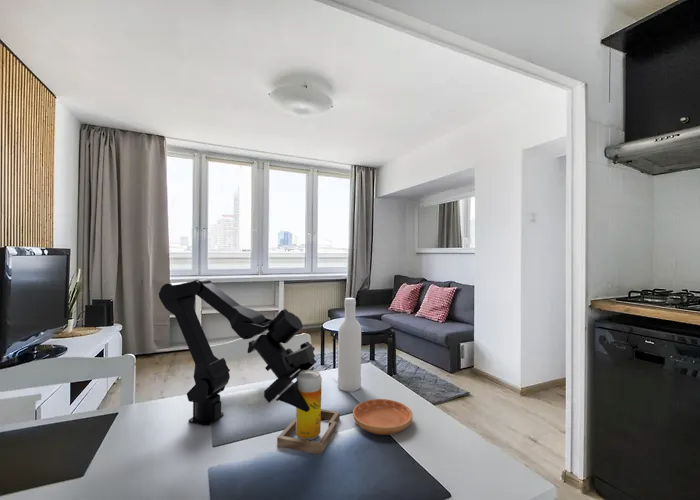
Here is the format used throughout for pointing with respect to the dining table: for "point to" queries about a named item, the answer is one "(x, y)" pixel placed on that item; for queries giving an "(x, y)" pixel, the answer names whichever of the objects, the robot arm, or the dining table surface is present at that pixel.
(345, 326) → the bottle
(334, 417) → the brown rectangular frame
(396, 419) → the saucer
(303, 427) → the beer can
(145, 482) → the dining table surface
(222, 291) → the robot arm
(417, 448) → the dining table surface
